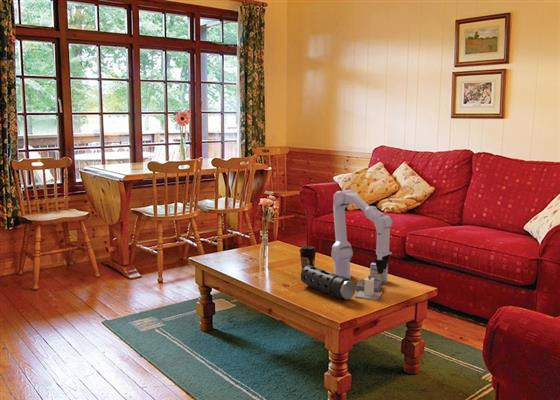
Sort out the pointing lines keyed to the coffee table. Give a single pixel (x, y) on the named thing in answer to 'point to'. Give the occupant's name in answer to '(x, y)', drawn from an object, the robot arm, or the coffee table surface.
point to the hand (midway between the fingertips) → (381, 271)
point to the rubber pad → (373, 297)
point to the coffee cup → (307, 256)
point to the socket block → (361, 285)
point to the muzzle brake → (328, 282)
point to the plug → (369, 286)
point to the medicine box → (377, 276)
